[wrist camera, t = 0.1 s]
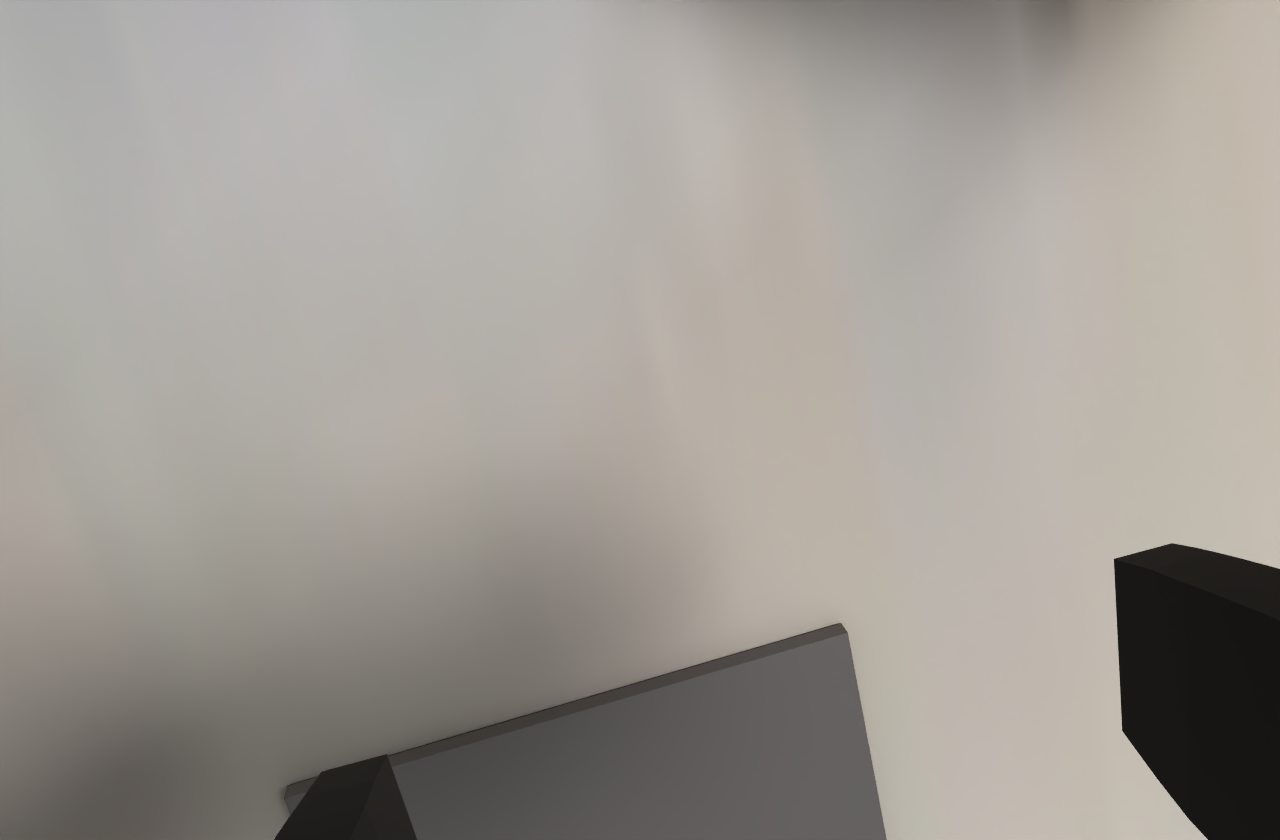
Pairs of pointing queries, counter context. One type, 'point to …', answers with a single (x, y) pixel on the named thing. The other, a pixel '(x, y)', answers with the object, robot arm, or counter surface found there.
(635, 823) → the mat
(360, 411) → the counter surface
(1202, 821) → the robot arm
